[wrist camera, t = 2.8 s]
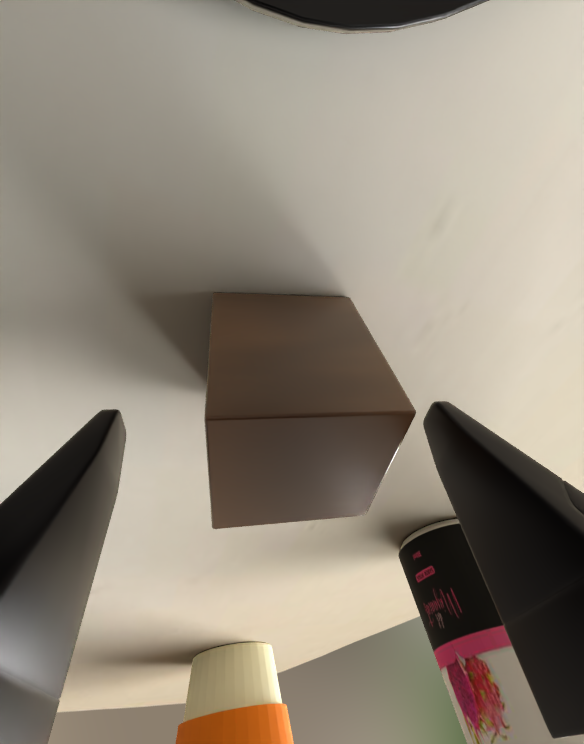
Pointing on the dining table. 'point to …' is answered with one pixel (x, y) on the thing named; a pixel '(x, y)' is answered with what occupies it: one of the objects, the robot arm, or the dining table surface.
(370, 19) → the tin lid
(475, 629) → the beverage can
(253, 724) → the reusable coffee cup
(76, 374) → the dining table surface
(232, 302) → the block
